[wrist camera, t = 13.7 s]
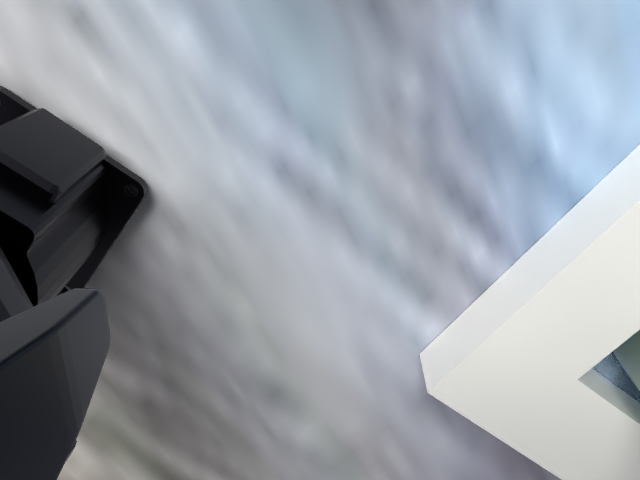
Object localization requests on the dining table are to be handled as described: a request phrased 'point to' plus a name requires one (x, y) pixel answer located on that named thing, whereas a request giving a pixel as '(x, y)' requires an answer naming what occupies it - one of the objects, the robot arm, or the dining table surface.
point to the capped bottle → (630, 357)
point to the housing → (555, 341)
